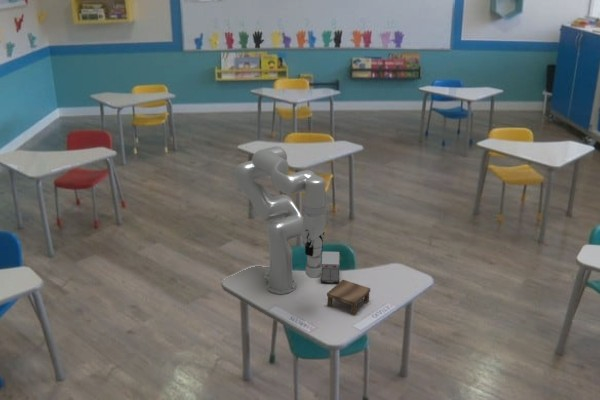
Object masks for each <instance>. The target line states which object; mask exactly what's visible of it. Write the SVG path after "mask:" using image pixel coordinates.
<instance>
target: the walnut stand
mask: <svg viewBox="0 0 600 400" xmlns="http://www.w3.org/2000/svg"><path fill="white" fill-rule="evenodd" d="M370 292H371V288H370V287H367V286H365V285H361V284H358V283H355V282H352V281H348V280H346V279H341V280H339V283H337V284H336V285H335V286H334V287H332V288H331V289H330V290H329V291H328V292H327V293H326V297H327V306H328V307H330V308H331V307H332V306H333V305H334V303H333V300H336V301H339V302H342V303H345V304H347V305H351V311H350V312H351V313H350V315H352V316H356V315H357V310H358V309H357V305H358V304H359V303H361V301H363V302H365V303H368V302H370Z"/></svg>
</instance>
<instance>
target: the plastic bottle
mask: <svg viewBox="0 0 600 400" xmlns="http://www.w3.org/2000/svg"><path fill="white" fill-rule="evenodd" d="M308 238H310V237H308ZM310 241H311V240H308V242H309V243H310ZM312 246H313V256H309V255H306V265H305V274H306V276H307V277H308V278H310V279H318V278H321V277H322V266H321V262H322V259H321V256H322V250H323V248H322V240H321V238H320V237H317V238H316V239H314V240H313V244H312Z"/></svg>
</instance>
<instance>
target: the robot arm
mask: <svg viewBox="0 0 600 400" xmlns="http://www.w3.org/2000/svg"><path fill="white" fill-rule="evenodd" d="M289 167H290V166H289V163H288V155H287V152H286V150H285V149H284V148H283V147H281V146H276V145H275V146H272V147H271V146H270V147H267V148H262V149H259V150H257V151H255V152H254V154H253V155H252V159H251V160H248V161H244V162H242V163H240V164H239V165H237V166H236V167H235V170H234V177H235V181H236V184H237V186H238V187H239V189H240V190H241V191H242V192H243V193H244V194H245V196H246V197H247V198H248V199H249V200H250V203H251V204H252V206H253V208H254V209H255V211H256V213H257V214H258V216H259V218H260V219H262V221H263V222H270V223H269V224H268V225H267V226H266V235H267V236H266V237H267V240H268V248H269V272H268V271H265V272H264V276H263V279H265V280H268V281H267V283H266V289H267V290H268V292H271V293H272V294H276V295H286V294H287V295H288V294H289V293H292V292H293V291H294V290H296V288H297V283H296V281H295V280H294V279H293V249H292V247H291V245H290V244H289V243H288V242H289V241H291V240H293V239H296V238H299V237H301V238H302V240H301V242H302V244H303V245H304V246H305V247H304V250H305V251H304V253H305V255H306V256H307V255H309V256H313V246H312V244H313V240H314V239H316V238H317V237H320V238H321V240H322V249H323V247H324V246H323V245H324V243H323V242H324V237H325V235H324V234H325V230H326V228H327V226H326V213H325V211H326V209H325V207H326V180H325V179H324V178H323V177H322V176H318V175H317V174H316V173H315V172H313V171H312V170H310V169H305V170H301V171H297V172H293V173H290V174H288V172H289ZM268 177H270V179H271V182H272V185H273V186H274V188H275V189H276V190H278V191H279V192H281V193H283V194H279V195H275V196H272V195H271V194H270V192H269V190H268V189H267V187H265V186H264V185H263V184H261V183H260V182H257V181H258V180H261V179H264V178H268ZM301 192H304V215H302V214H303V213H302V212H301V211H300V210H299V208H298V207H297V205H296V203H295V202H294V200H293V199H292V198H291V197H290V195H296V194H298V193H301ZM308 237H310V238H308ZM308 240H311V241H310V243H309V242H308Z"/></svg>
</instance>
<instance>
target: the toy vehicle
mask: <svg viewBox="0 0 600 400" xmlns="http://www.w3.org/2000/svg"><path fill="white" fill-rule="evenodd" d="M340 255H341V254H340V251H321V267H322V274H321V277H320V283H335V284H336V283H337V284H338V283H339V282H340V267H341V265H340V264H341V263H340V260H342V256H340Z"/></svg>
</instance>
